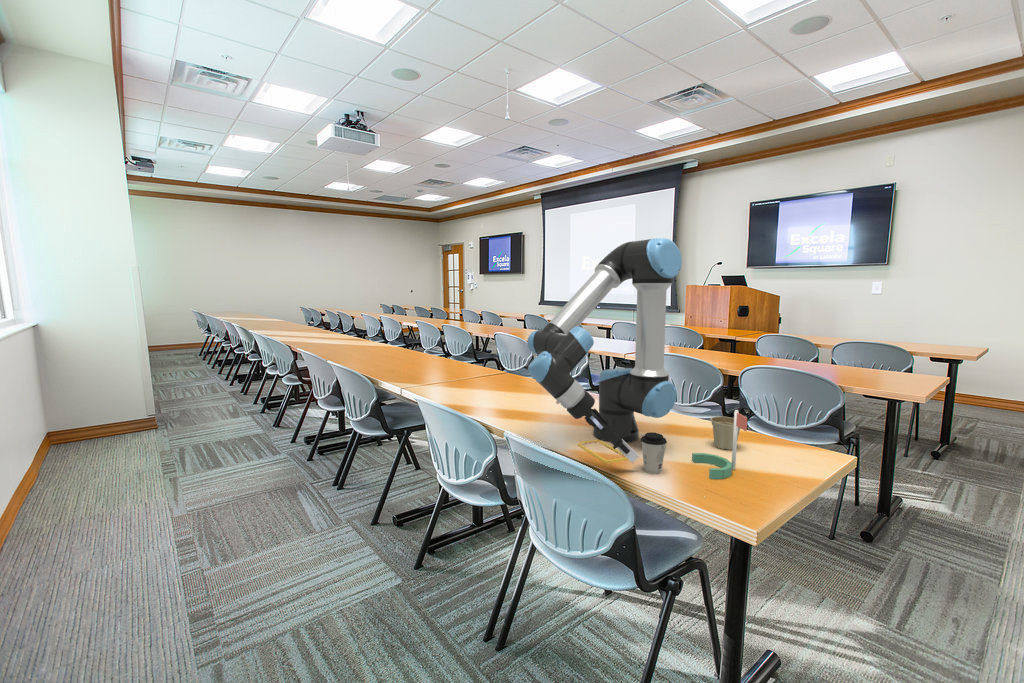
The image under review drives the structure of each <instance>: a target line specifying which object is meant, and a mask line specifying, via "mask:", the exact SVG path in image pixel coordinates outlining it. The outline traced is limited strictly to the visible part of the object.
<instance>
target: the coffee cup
mask: <svg viewBox="0 0 1024 683" xmlns="http://www.w3.org/2000/svg"><path fill="white" fill-rule="evenodd" d="M640 441H641V448H642V449H641V451H642V452H641V453H642V460H643V461H642V462H643V469H644V472H646V473H649V474H651V475H652V474H653V475H654V474H660V473H662V471H663V470H662V469H663V463H664V457H665V452H666V451H665V450H666V446H667V443H668V440H667V438H666V437H664V436H663V435H662V434H661V433H659V432H658V433H657V432H646V433H645V434H644V435H643V436H641V438H640Z"/></svg>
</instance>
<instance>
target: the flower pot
mask: <svg viewBox="0 0 1024 683" xmlns="http://www.w3.org/2000/svg"><path fill="white" fill-rule="evenodd" d="M710 422H711V425H712V432H713V433H712V434H713V444H714V447H716V448H717V447H718V449H720V448H721V450H728V451H732V448H733V430H734V417H730V416H729V417H728V416H713V417H711V418H710ZM741 430H742V429H741V428H739V427H738V432H737V441H738V440H739V435H740V431H741Z"/></svg>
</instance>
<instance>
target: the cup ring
mask: <svg viewBox="0 0 1024 683" xmlns="http://www.w3.org/2000/svg"><path fill="white" fill-rule="evenodd" d="M692 461H693V462H697V463H696V464H708V465H714V466H716V467H715V468H714V467H712V468H709V470H708V478H709V479H710V480H725V479H727V477H728V478H730V476H731V477H732V472H733V471H732V470H733V469H732V461H730V460H729V459H727V458H726V457H722V456H720V455H716V454H711V453H705V452H692V453H691V462H692ZM693 462H692V463H693ZM721 467H722V468H721ZM724 478H725V479H724Z"/></svg>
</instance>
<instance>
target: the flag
mask: <svg viewBox="0 0 1024 683" xmlns="http://www.w3.org/2000/svg"><path fill="white" fill-rule="evenodd" d="M733 414H734V416H733V418H734V430H733V448H732V450H731V452H732V453H731V463H732V470H733V471H734V470H736V465H737V446H738V440H737V432H738V427H739V428H741V429H740V430H743V431H744V432H747V430H748V417H746V416H745V415H743V414H742V413H739V409H735V410H734V413H733Z"/></svg>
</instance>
